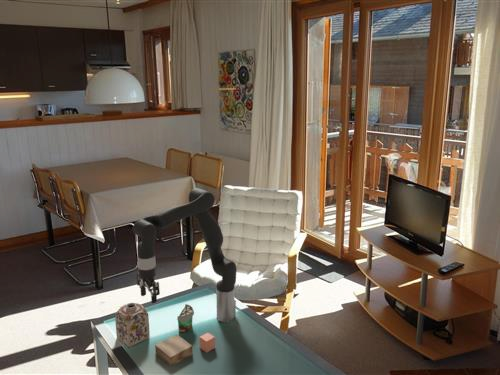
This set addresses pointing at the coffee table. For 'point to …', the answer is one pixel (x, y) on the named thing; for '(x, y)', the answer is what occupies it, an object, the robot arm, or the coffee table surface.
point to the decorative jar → (132, 324)
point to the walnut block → (173, 349)
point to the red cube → (207, 342)
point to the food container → (185, 319)
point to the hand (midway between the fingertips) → (148, 298)
